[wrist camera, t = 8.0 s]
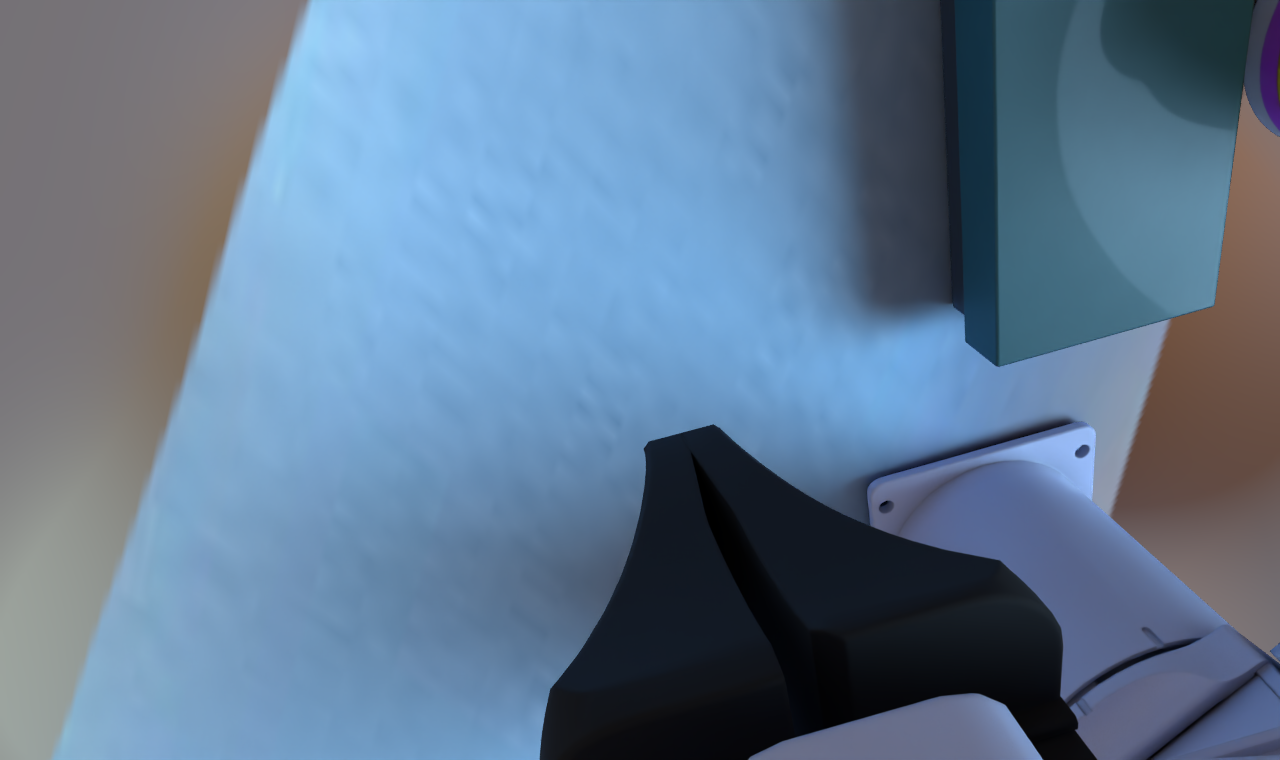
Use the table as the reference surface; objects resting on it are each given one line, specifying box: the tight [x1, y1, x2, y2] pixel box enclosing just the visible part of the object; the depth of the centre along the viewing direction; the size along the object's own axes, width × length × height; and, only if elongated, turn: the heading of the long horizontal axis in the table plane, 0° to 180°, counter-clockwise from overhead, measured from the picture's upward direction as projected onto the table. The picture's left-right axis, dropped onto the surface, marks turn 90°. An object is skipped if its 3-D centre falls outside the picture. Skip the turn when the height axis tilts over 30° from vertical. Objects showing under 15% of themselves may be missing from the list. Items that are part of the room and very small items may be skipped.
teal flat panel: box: [941, 0, 1254, 367], centre depth 21 cm, size 12×6×3 cm, turn 13°
